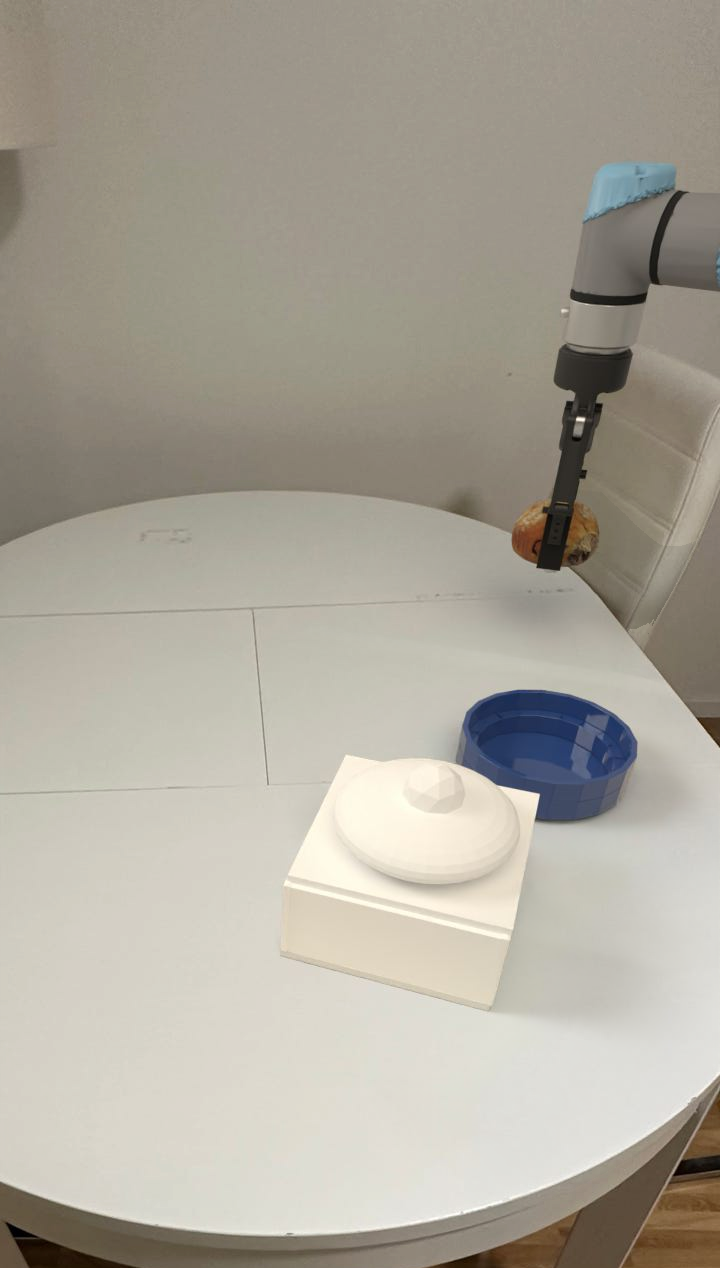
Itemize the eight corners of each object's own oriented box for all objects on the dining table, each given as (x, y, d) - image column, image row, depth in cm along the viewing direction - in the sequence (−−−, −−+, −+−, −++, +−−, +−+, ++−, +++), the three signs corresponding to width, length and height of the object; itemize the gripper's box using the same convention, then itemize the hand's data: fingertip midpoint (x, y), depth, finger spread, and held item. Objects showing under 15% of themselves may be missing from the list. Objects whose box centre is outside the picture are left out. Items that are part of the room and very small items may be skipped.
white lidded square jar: (280, 956, 77) (285, 808, 66) (337, 828, 90) (349, 687, 79) (490, 1012, 72) (531, 863, 62) (519, 869, 85) (558, 725, 74)
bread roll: (581, 569, 115) (587, 502, 113) (609, 566, 105) (617, 492, 103) (502, 569, 116) (507, 502, 113) (523, 566, 106) (529, 492, 104)
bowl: (626, 744, 100) (639, 705, 97) (620, 839, 88) (635, 798, 85) (469, 716, 105) (476, 678, 101) (443, 803, 92) (450, 763, 89)
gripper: (568, 321, 105) (530, 513, 120) (550, 369, 89) (509, 584, 103) (637, 325, 103) (590, 520, 118) (631, 374, 87) (578, 593, 101)
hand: (552, 550), depth 111 cm, fingers closed on bread roll, 10 cm apart
